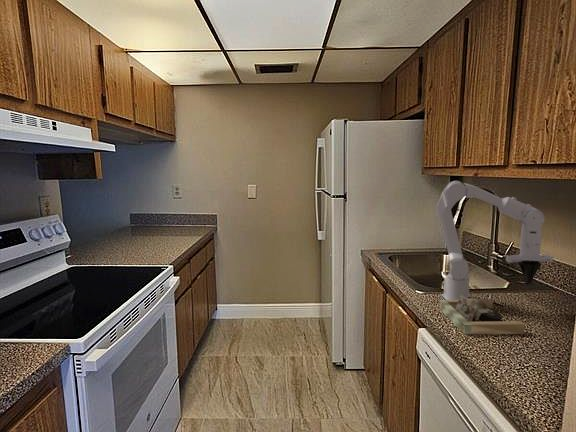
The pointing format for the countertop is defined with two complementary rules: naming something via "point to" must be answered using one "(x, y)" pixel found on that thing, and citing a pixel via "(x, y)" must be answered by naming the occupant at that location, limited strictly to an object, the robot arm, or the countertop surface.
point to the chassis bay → (479, 327)
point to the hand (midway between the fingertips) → (527, 282)
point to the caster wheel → (476, 310)
